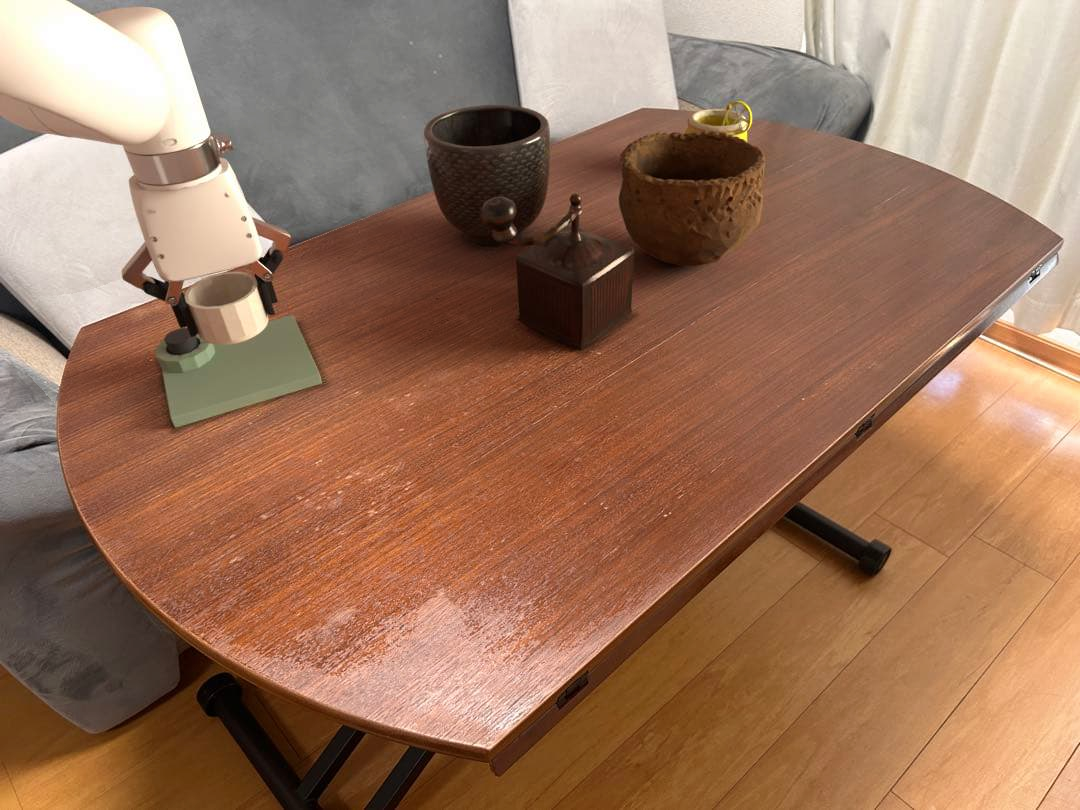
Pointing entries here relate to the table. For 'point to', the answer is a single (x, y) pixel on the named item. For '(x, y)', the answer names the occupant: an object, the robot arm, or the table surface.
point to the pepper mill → (566, 276)
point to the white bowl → (227, 308)
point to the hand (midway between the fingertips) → (231, 318)
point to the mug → (721, 121)
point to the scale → (236, 372)
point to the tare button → (180, 341)
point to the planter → (488, 165)
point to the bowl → (691, 194)
